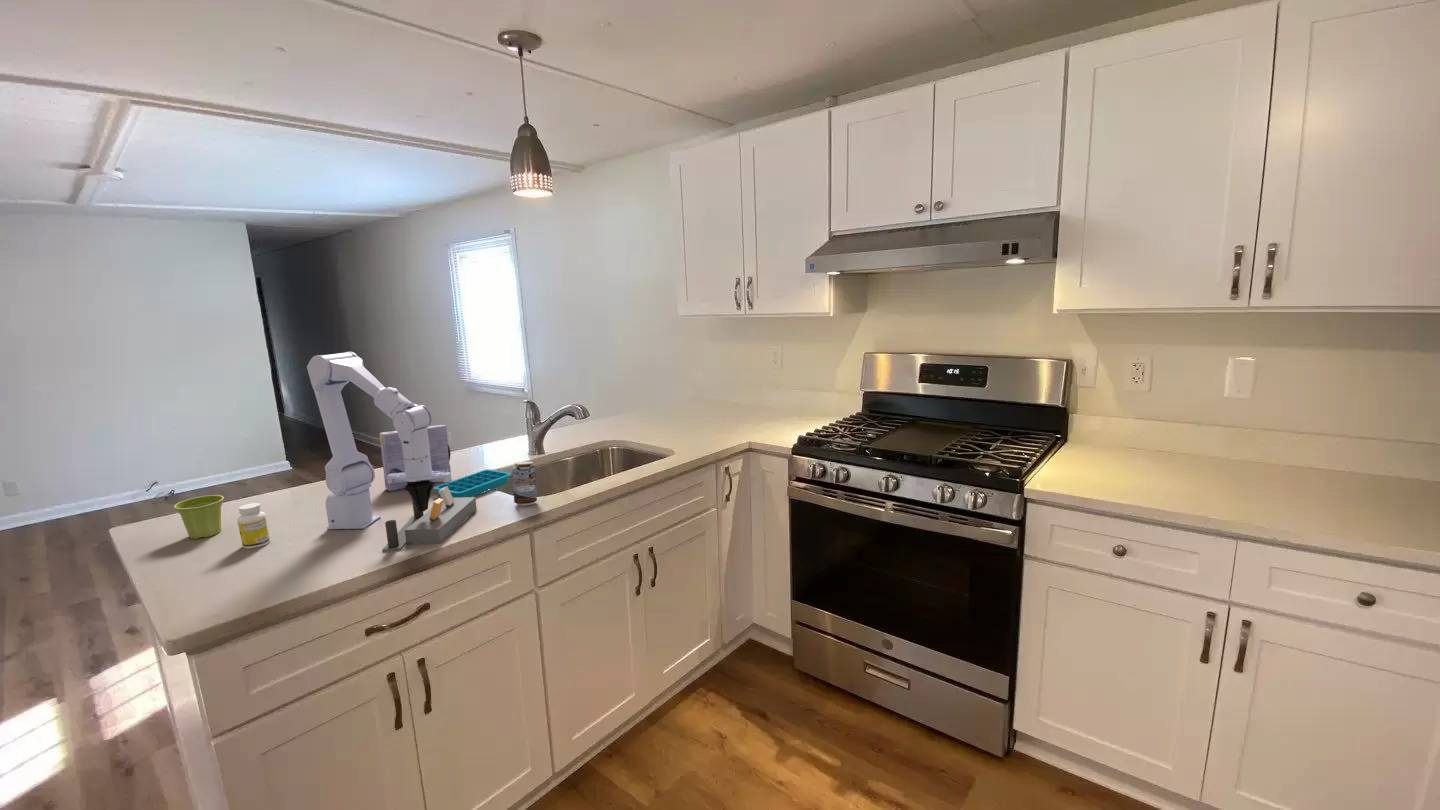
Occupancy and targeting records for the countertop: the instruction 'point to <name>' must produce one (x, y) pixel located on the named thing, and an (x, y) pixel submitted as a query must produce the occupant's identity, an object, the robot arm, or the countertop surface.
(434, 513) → the block
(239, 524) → the supplement bottle
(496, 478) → the ice cube tray
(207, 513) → the plant pot
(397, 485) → the cake pan box
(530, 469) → the beverage can
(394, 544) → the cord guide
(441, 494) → the paddle
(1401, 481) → the countertop surface
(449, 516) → the box
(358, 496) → the robot arm
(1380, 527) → the countertop surface
